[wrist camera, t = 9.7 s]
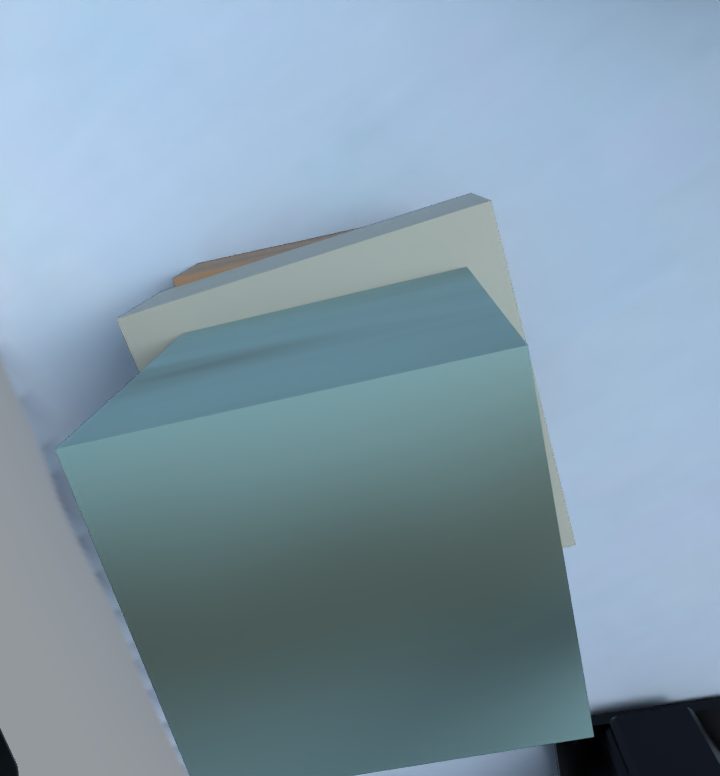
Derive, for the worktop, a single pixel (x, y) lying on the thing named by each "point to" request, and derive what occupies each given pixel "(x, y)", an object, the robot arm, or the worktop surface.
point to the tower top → (344, 284)
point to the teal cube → (339, 536)
